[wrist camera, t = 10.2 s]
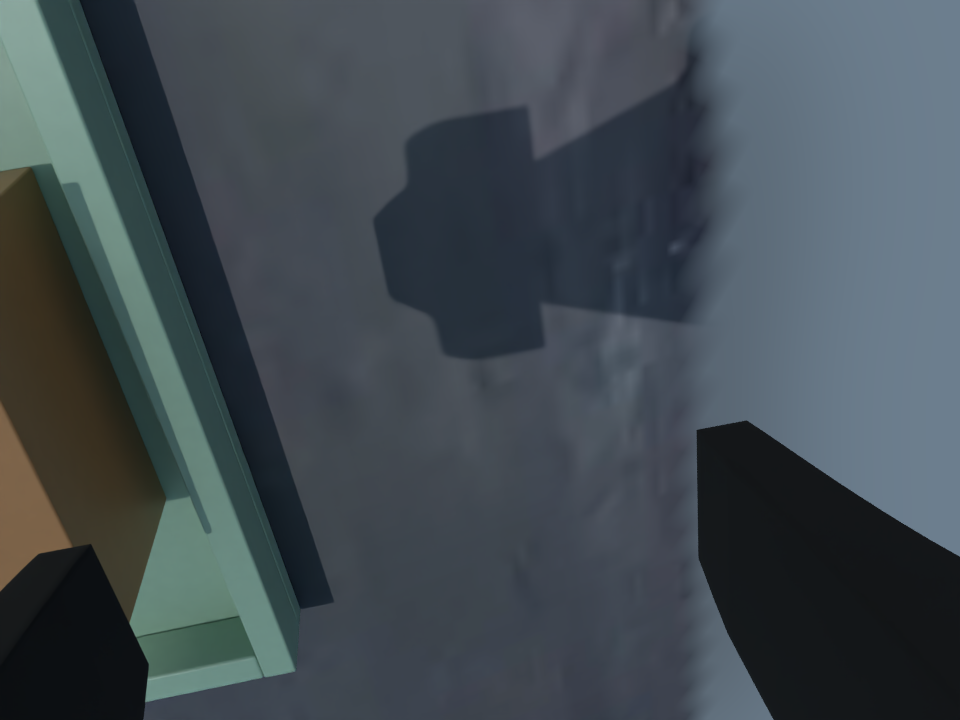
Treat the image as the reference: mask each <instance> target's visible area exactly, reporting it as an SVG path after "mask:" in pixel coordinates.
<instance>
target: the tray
mask: <svg viewBox="0 0 960 720" xmlns="http://www.w3.org/2000/svg"><path fill="white" fill-rule="evenodd" d="M24 167H31V168H32V170H33V173H34V175H35V178H36V180H37V182H38V185H39V187H40V190H41V192H42V195H43V197H44V200H45V202H46V205H47V207H48V209H49V212H50V214H51V217H52V219H53V222H54V224H55V227H56V229H57V231H58V234H59V236H60V239H61V241H62V244H63V246H64V249H65V251H66V253H67V256H68V258H69V261H70V263H71V266H72V268H73V271H74V273H75V276H76V278H77V280H78V283H79V285H80V288H81V290H82V293H83V295H84V298H85V300H86V302H87V305H88V307H89V310H90V312H91V315H92V317H93V320H94V322H95V324H96V327H97V329H98V332H99V334H100V337H101V339H102V342H103V344H104V347H105V349H106V351H107V354H108V356H109V359H110V361H111V364H112V366H113V369H114V371H115V373H116V376H117V378H118V381H119V383H120V386H121V388H122V391H123V393H124V395H125V398H126V400H127V403H128V405H129V408H130V410H131V413H132V415H133V418H134V420H135V422H136V425H137V427H138V430H139V432H140V435H141V437H142V440H143V442H144V444H145V447H146V449H147V452H148V454H149V457H150V459H151V462H152V464H153V467H154V469H155V471H156V474H157V476H158V479H159V481H160V484H161V486H162V489H163V491H164V493H165V496H166V502H165V506H164V509H163V512H162V516H161V519H160V522H159V526H158V529H157V533H156V536H155V539H154V543H153V546H152V549H151V553H150V556H149V559H148V563H147V566H146V569H145V573H144V576H143V580H142V583H141V586H140V590H139V593H138V596H137V600H136V603H135V606H134V610H133V613H132V617H131V620H130V623H129V624H130V626H131V628H132V630H133V632H134V634H135V636H136V638H137V640H138V642H139V645H140V647H141V649H142V651H143V653H144V655H145V657H146V659H147V661H148V663H149V670H148V680H147V690H146V699H145V702H148V701H153V700H158V699H163V698H168V697H173V696H177V695H182V694H187V693H192V692H197V691H201V690H206V689H211V688H216V687H221V686H225V685H230V684H235V683H240V682H245V681H249V680H254V679H259V678H262V677H263V676H265V677H271V676H276V675H280V674H285V673H290V672H294V671H296V665H297V651H298V637H299V622H300V607H299V604H298V601H297V599H296V596H295V593H294V590H293V588H292V585H291V582H290V579H289V577H288V574H287V571H286V568H285V566H284V563H283V560H282V557H281V554H280V552H279V549H278V546H277V543H276V541H275V538H274V535H273V532H272V530H271V527H270V524H269V521H268V519H267V516H266V513H265V510H264V508H263V505H262V502H261V499H260V497H259V494H258V491H257V488H256V486H255V483H254V480H253V477H252V475H251V472H250V469H249V466H248V464H247V461H246V458H245V455H244V453H243V450H242V447H241V444H240V442H239V439H238V436H237V433H236V431H235V428H234V425H233V422H232V419H231V417H230V414H229V411H228V408H227V406H226V403H225V400H224V397H223V395H222V392H221V389H220V386H219V384H218V381H217V378H216V375H215V373H214V370H213V367H212V364H211V362H210V359H209V356H208V353H207V351H206V348H205V345H204V342H203V340H202V337H201V334H200V331H199V329H198V326H197V323H196V320H195V318H194V315H193V312H192V309H191V307H190V304H189V301H188V298H187V296H186V293H185V290H184V287H183V284H182V282H181V279H180V276H179V273H178V271H177V268H176V265H175V262H174V260H173V257H172V254H171V251H170V249H169V246H168V243H167V240H166V238H165V235H164V232H163V229H162V227H161V224H160V221H159V218H158V216H157V213H156V210H155V207H154V205H153V202H152V199H151V196H150V194H149V191H148V188H147V185H146V183H145V180H144V177H143V174H142V172H141V169H140V166H139V163H138V160H137V158H136V155H135V152H134V149H133V147H132V144H131V141H130V138H129V136H128V133H127V130H126V127H125V125H124V122H123V119H122V116H121V114H120V111H119V108H118V105H117V103H116V100H115V97H114V94H113V92H112V89H111V86H110V83H109V81H108V78H107V75H106V72H105V70H104V67H103V64H102V61H101V59H100V56H99V53H98V50H97V48H96V45H95V42H94V39H93V37H92V34H91V31H90V28H89V25H88V23H87V20H86V17H85V14H84V12H83V9H82V6H81V3H80V1H79V0H0V172H1V171H7V170H13V169H19V168H24Z"/></svg>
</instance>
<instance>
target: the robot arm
mask: <svg viewBox="0 0 960 720" xmlns="http://www.w3.org/2000/svg"><path fill="white" fill-rule="evenodd" d="M697 484H698V553H699V560H700V563H701V566H702V568H703V571H704V574H705V576H706V579H707V582H708V584H709V587H710V590H711V592H712V595H713V598H714V600H715V603H716V605H717V608H718V610H719V613H720V615H721V618H722V620H723V623H724V625H725V628H726V630H727V633H728V635H729V637H730V639H731V640H732V642H733V644H734V646H735V648H736V650H737V652H738V654H739V656H740V658H741V659H742V661H743V663H744V665H745V667H746V669H747V670H748V673H749V674H750V676H751V678H752V680H753V682H754V684H755V686H756V688H757V690H758V692H759V693H760V695H761V697H762V699H763V701H764V703H765V705H766V706H767V708H768V710H769V712H770V714H771V716H772V717H773V719H774V720H960V557H959V556H958V555H956V554H954V553H952V552H951V551H949V550H947V549H945V548H943V547H941V546H940V545H938V544H936V543H935V542H933V541H931V540H929V539H928V538H926V537H924V536H922V535H921V534H919V533H918V532H916V531H914V530H913V529H911V528H909V527H908V526H906V525H904V524H903V523H901V522H899V521H898V520H896V519H895V518H893V517H891V516H890V515H888V514H886V513H885V512H883V511H881V510H880V509H878V508H877V507H875V506H874V505H872V504H871V503H869V502H868V501H866V500H864V499H863V498H861V497H860V496H858V495H857V494H855V493H854V492H852V491H851V490H849V489H848V488H846V487H844V486H843V485H841V484H840V483H838V482H837V481H835V480H834V479H832V478H831V477H829V476H828V475H826V474H825V473H823V472H822V471H821V470H819V469H818V468H816V467H815V466H813V465H812V464H810V463H808V462H807V461H806V460H804V459H803V458H801V457H800V456H798V455H797V454H795V453H794V452H793V451H791V450H790V449H788V448H787V447H785V446H784V445H782V444H781V443H779V442H778V441H776V440H775V439H773V438H772V437H771V436H769V435H768V434H766V433H765V432H763V431H762V430H760V429H759V428H757V427H755V426H754V425H753V424H751V423H749V422H748V421H742V422H736V423H731V424H726V425H720V426H715V427H710V428H705V429H699V430H697ZM148 670H149V663H148V661H147V659H146V657H145V655H144V653H143V651H142V649H141V647H140V645H139V642H138V640H137V638H136V636H135V634H134V632H133V630H132V628H131V626H130V624H129V622H128V620H127V617H126V615H125V613H124V611H123V609H122V607H121V605H120V603H119V601H118V599H117V597H116V595H115V592H114V590H113V588H112V586H111V584H110V582H109V580H108V578H107V576H106V574H105V572H104V570H103V568H102V565H101V563H100V561H99V559H98V557H97V555H96V553H95V551H94V549H93V547H92V545H91V544H87V545H82V546H76V547H71V548H66V549H61V550H55V551H50V552H45V553H39V554H38V555H37V556H36V557H35V558H33V559H32V560H31V561H30V562H29V563H28V564H27V565H26V566H25V567H24V568H23V569H22V570H21V571H20V572H19V573H18V574H17V575H16V576H15V577H14V578H13V579H12V580H11V581H10V582H9V583H8V584H7V585H6V586H5V587H4V588H3V589H2V590H1V591H0V720H143V717H144V709H145V699H146V690H147V680H148Z"/></svg>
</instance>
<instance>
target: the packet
mask: <svg viewBox="0 0 960 720" xmlns="http://www.w3.org/2000/svg"><path fill="white" fill-rule="evenodd" d="M165 502H166V496H165V493H164V491H163V489H162V486H161V484H160V481H159V479H158V476H157V474H156V471H155V469H154V467H153V464H152V462H151V459H150V457H149V454H148V452H147V449H146V447H145V444H144V442H143V440H142V437H141V435H140V432H139V430H138V427H137V425H136V422H135V420H134V418H133V415H132V413H131V410H130V408H129V405H128V403H127V400H126V398H125V395H124V393H123V391H122V388H121V386H120V383H119V381H118V378H117V376H116V373H115V371H114V369H113V366H112V364H111V361H110V359H109V356H108V354H107V351H106V349H105V347H104V344H103V342H102V339H101V337H100V334H99V332H98V329H97V327H96V324H95V322H94V320H93V317H92V315H91V312H90V310H89V307H88V305H87V302H86V300H85V298H84V295H83V293H82V290H81V288H80V285H79V283H78V280H77V278H76V276H75V273H74V271H73V268H72V266H71V263H70V261H69V258H68V256H67V253H66V251H65V249H64V246H63V244H62V241H61V239H60V236H59V234H58V231H57V229H56V227H55V224H54V222H53V219H52V217H51V214H50V212H49V209H48V207H47V205H46V202H45V200H44V197H43V195H42V192H41V190H40V187H39V185H38V182H37V180H36V178H35V175H34V173H33V170H32V168H31V167H24V168H19V169H13V170H7V171H1V172H0V591H1V590H2V589H3V588H4V587H5V586H6V585H7V584H8V583H9V582H10V581H11V580H12V579H13V578H14V577H15V576H16V575H17V574H18V573H19V572H20V571H21V570H22V569H23V568H24V567H25V566H26V565H27V564H28V563H29V562H30V561H31V560H32V559H33V558H35V557H36V556H37V555H38V554H39V553H45V552H50V551H55V550H61V549H66V548H71V547H76V546H82V545H87V544H91V545H92V547H93V549H94V551H95V553H96V555H97V557H98V559H99V561H100V563H101V565H102V568H103V570H104V572H105V574H106V576H107V578H108V580H109V582H110V584H111V586H112V588H113V590H114V592H115V595H116V597H117V599H118V601H119V603H120V605H121V607H122V609H123V611H124V613H125V615H126V617H127V620H128V622H129V623H130V620H131V617H132V613H133V610H134V606H135V603H136V600H137V596H138V593H139V590H140V586H141V583H142V580H143V576H144V573H145V569H146V566H147V563H148V559H149V556H150V553H151V549H152V546H153V543H154V539H155V536H156V533H157V529H158V526H159V522H160V519H161V516H162V512H163V509H164V506H165Z"/></svg>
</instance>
